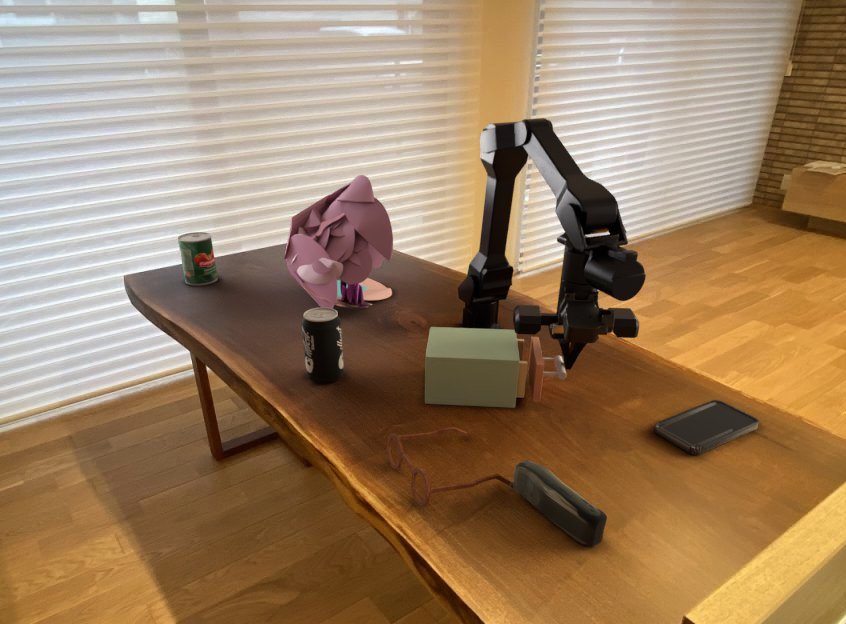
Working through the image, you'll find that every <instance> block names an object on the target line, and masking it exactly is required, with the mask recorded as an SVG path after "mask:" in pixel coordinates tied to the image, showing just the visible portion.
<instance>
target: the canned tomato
mask: <svg viewBox="0 0 846 624" xmlns="http://www.w3.org/2000/svg"><path fill="white" fill-rule="evenodd" d="M176 240H177V244H178V250H179V255H180V260H181V264H182V265H181V266H182V270H183V271H182V272H183V276H184V283H186V284H187V285H189V286H196V287H198V286H206V285H210V284H214V283H215V282H217V281H218V279H219V277H218V271H217V264H216V258H215V252H214V246H213V240H212V234H211V233H209V232H203V231H194V232H188V233H183V234H181V235H179V236H177V237H176Z"/></svg>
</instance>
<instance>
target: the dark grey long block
mask: <svg viewBox="0 0 846 624" xmlns="http://www.w3.org/2000/svg"><path fill="white" fill-rule="evenodd" d="M514 467H515V468H514V471H513V473H514V474H513V481H512V482H511V483H510V484H509V485H507V486H508V487H510V488H511V489H512V490H514V491H515V492H516V493H518V494H519V495H520V496H521V497H522V498H523V499H524V500H526V501H528V502H529V503H530V505H532V507H534V508H535V509H537V510H538V511H539V512H541V513H542V514H543V515H544V516H545V517H547V518H548V519H549V520H550V521H551V522H553V524H554V525H556V526H557V527H558V528H559V529H561V530H562V531H563V532H565V533H566V534H567V535H568V536H569V537H570V538H571V539H573V540H574V541H575V542H577V543H579V544H580V545H582V546H586V547H594V546H595V547H596V546H597V545H599V544H600V543H602V541H603V538H604V533H605V528H606V525H607V520H608V517H607V514H606V513H605V512H604V511H603V510H602V509H600V508H599V507H597V506H595V505H593V504H592V503H591V502H589V500H587V499H586V498H584V497H583V496H582V495H581V494H579V493H578V492H577V491H575V490H574V489H572V488H571V487H569V486H568V485H567V484H566V483H564V482H563V481H562V480H561V479H560V478H559V477H558V476H556V475H555V473H553V472H552V471H551V470H550V469H548V468H547V467H546V466H544V465H542V464H539V463H536V462H533V461H531V460H529V459H525V460H523V461H521V462H519V463H517V464H516V465H515V466H514Z"/></svg>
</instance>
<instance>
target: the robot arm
mask: <svg viewBox="0 0 846 624" xmlns="http://www.w3.org/2000/svg"><path fill="white" fill-rule="evenodd" d="M479 149H480V150H479V159H480V161H481V164H482V166H483V168H484V170H485V172H486V174H487V175H486V185H485V194H484V202H483V203H484V204H483V213H482V221H481V228H480V229H481V231H480V238H479V246H478V247H479V248H478V252H477V253H476V254H475V256H474V257H473V258H472V260H471V261H470V262H469V265H468V269H467V272H466V273H467V274H466V277H465V278H464V279H463V281H462V282H461V283H460V285H459V286H458V287H457V297H458V300H460V301H462V302H463V303H464V306H463V307H462V321H459V326H461V328H477V329H503V326H502V325H501V324H499V323H498V322H499V309H500V301H505V300H506V301H507V298H508V294H509V291H510V289H511V286H513V275H514V272H515V269H514V266H512V265H511V264H510V262H509V260H508V259H507V256H506V250H507V242H508V236H509V229H510V221H511V213H512V207H513V200H514V192H515V185H516V179H517V177H518V175H519V174H520V173H521V171H522V170H523V168H524V167H525V166H526V164H527V163H528V159H529V158H530V159H531V161H532V163H533V164H534V165H535V168H536V169H537V170H538V172H539V173H540V175H541V176H542V178H543V180H544V181H545V183H546V184H547V186H548V187H549V189H550V190H551V192H552V193H553V195H554V197H555V199H556V203H555V209H554V211H555V214H556V216H557V219H558V221H559V223H560V225H561V227H562V229H563V231H564V232H563V233H562V234H561V235H559V236H558V237H556V242H557V243H559V244H561V245H563V246H564V249H563V258H562V265H561V274H560V281H559V290H558V298H557V305H556V313H555V312H554V313H549V312H541V309H540V306H539V305H530V304H517V305H516V306H515V307H514V308H513V313H512V314H513V315H512V323H513V330H514V331H515V333H516V335H529V336H531V335H533V336H536V335H537V334H538V333H540V332H541V330H542V326H547V328H548V332H549V336H550V339H552V340H557V341H558V344H559V346H560V350H561V357H562V360H563V363H564V367H565V371H570V370H572V367H573V366H574V364H575V363H576V361H577V359H578V357H579V356H580V354H581V353H582V351H583V349H584V348H585V347H586V346H587V344H594V343H597V341H598V340H599V338H600V337H599V336H607V335H608V334H611V333H613V334H614V336H615V337H616V338H619V339H623V338H624V339H636V338H638V337H639V331H640V321H639V320H638V317H637V315H636V314H635V312H634V311H633V310H632V309H631V308H630V307H608V308H604V307H600V305H599V292H601V293H603V294H605V295H607V296H609V297H611V298H613V299H616V300H617V301H619V302H627V301H630V300H631V299H633V298H634V297H636V296H637V295H638V294H639V293H640V291H641V290H642V288H643V286H644V284H645V281H646V278H647V275H646V272H645V268H644V265H643V264H642V263H641V262H640V261H638V255H639V253H638V251H636V250H634V249H629V248H628V249H627V248H625V247H622V246H628V244H629V240H628V236H627V230H626V228H625V225H624V223H623V219H622V216H621V212H620V209H619V203H618V201H617V198H616V197H615V195H614V194H612V193H611V191H609V189H607V188H606V187H605V186H604V185H603V184H602V183H600V182H597V181H595V180H593V179H592V178H589V177H588V176H587V175H586V174H584V172H583V171H582V170H581V168H580V166H579V165H578V164H577V162H576V160H575V159H574V158H573V157H572V155H571V154H570V152H569V151H568V150H567V148H566V146H565V145H564V144H563V142H562V141H561V139H560V138H559V137H558V135H557V134H556V132H555V131H554V125H553V122H552V121H551V120H549V119H547V118H546V117H545V118H544V117H539V118H524V119H522V120H520V121H505V122H491V123H490V122H489V123H488V124H487V125H486V127H485V128H483V129H482V131H481V134H480V136H479ZM607 232H608V233H607ZM601 233H602V235H595V234H601ZM604 233H607V234H604ZM589 235H594V236H589Z"/></svg>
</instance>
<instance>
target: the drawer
mask: <svg viewBox="0 0 846 624" xmlns="http://www.w3.org/2000/svg"><path fill="white" fill-rule="evenodd" d="M517 345H518V352H519V360H520V362H519V373H518V383H517V394H516V398H522V399H523V398H525V393H526V385H527V384H526V383H527V375H528V381H529V387H530V394H531V395H530V396H531V401H532V403H540V402H541V398H542V397H541V396H542V389H543V380H544V377H556V378H558V379H559V380H560V381H561V380H565V379H566V378H567V375H568V374H567V370H566V369H565V365H564V361H563V356H562V355H557V354H556V355H555V356H554V357H544V356H543V352H542V347H541V342H540V337H539V336H531V338H530V348H529V357H528V361H527V360H523V358H524V357H523V356H524V347H525V339H524V338H517ZM545 363H554V366H555V371H547V370H545Z"/></svg>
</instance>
